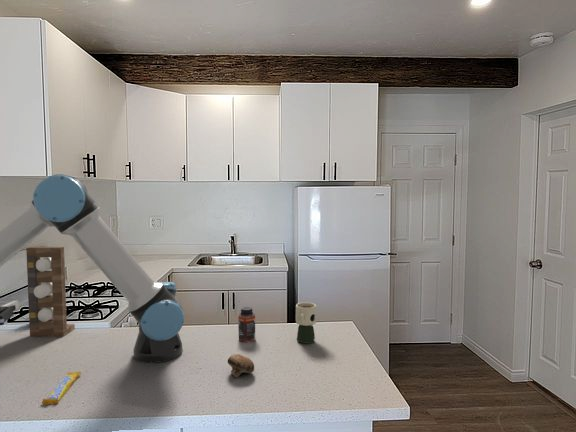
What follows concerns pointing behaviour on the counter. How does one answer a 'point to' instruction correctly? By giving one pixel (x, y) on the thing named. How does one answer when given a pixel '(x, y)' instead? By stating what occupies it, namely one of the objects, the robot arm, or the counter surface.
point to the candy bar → (61, 388)
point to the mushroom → (240, 364)
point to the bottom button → (45, 314)
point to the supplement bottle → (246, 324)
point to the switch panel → (55, 301)
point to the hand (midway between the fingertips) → (16, 304)
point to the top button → (44, 264)
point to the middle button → (43, 290)
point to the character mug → (305, 321)
